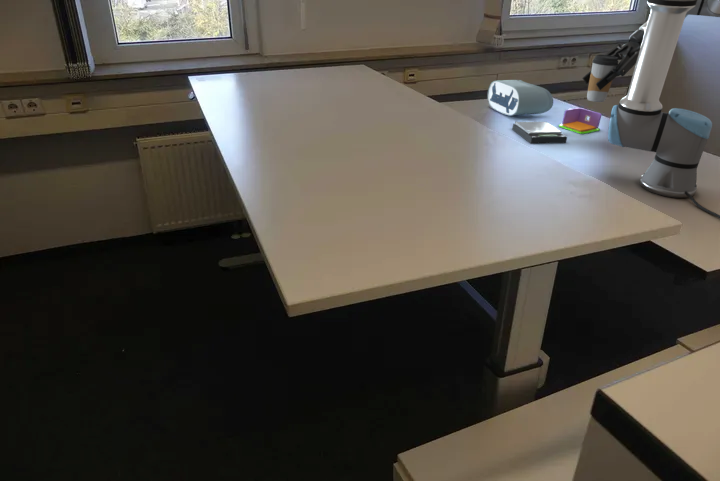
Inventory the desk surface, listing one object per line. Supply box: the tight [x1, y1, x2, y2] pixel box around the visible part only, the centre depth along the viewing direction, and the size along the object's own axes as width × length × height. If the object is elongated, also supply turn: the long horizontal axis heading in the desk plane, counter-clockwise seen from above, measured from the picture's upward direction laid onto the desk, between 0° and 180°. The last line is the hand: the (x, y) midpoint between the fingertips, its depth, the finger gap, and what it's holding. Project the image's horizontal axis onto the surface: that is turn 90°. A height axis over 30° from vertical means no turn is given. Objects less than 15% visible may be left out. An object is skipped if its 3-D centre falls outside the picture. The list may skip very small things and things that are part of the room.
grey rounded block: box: [486, 79, 554, 117], centre depth 230 cm, size 22×19×13 cm
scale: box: [511, 121, 568, 145], centre depth 203 cm, size 17×14×3 cm
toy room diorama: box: [558, 107, 603, 135], centre depth 213 cm, size 12×12×7 cm
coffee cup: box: [586, 54, 619, 103], centre depth 187 cm, size 8×8×15 cm
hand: (591, 83), depth 187 cm, fingers closed on coffee cup, 8 cm apart
